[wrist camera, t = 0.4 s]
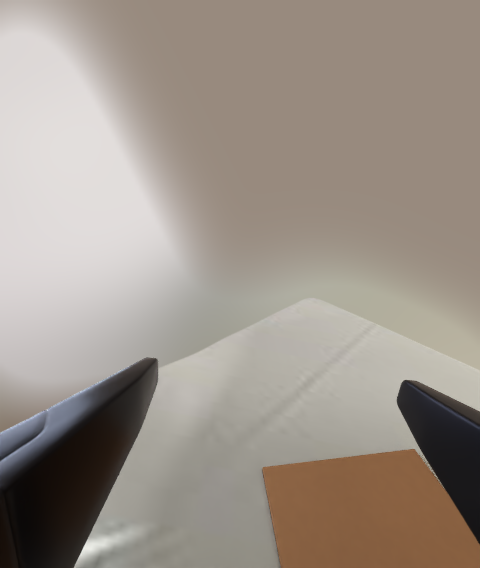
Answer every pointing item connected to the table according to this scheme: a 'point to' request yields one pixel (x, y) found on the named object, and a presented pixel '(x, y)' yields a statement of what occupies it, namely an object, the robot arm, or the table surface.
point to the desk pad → (366, 515)
